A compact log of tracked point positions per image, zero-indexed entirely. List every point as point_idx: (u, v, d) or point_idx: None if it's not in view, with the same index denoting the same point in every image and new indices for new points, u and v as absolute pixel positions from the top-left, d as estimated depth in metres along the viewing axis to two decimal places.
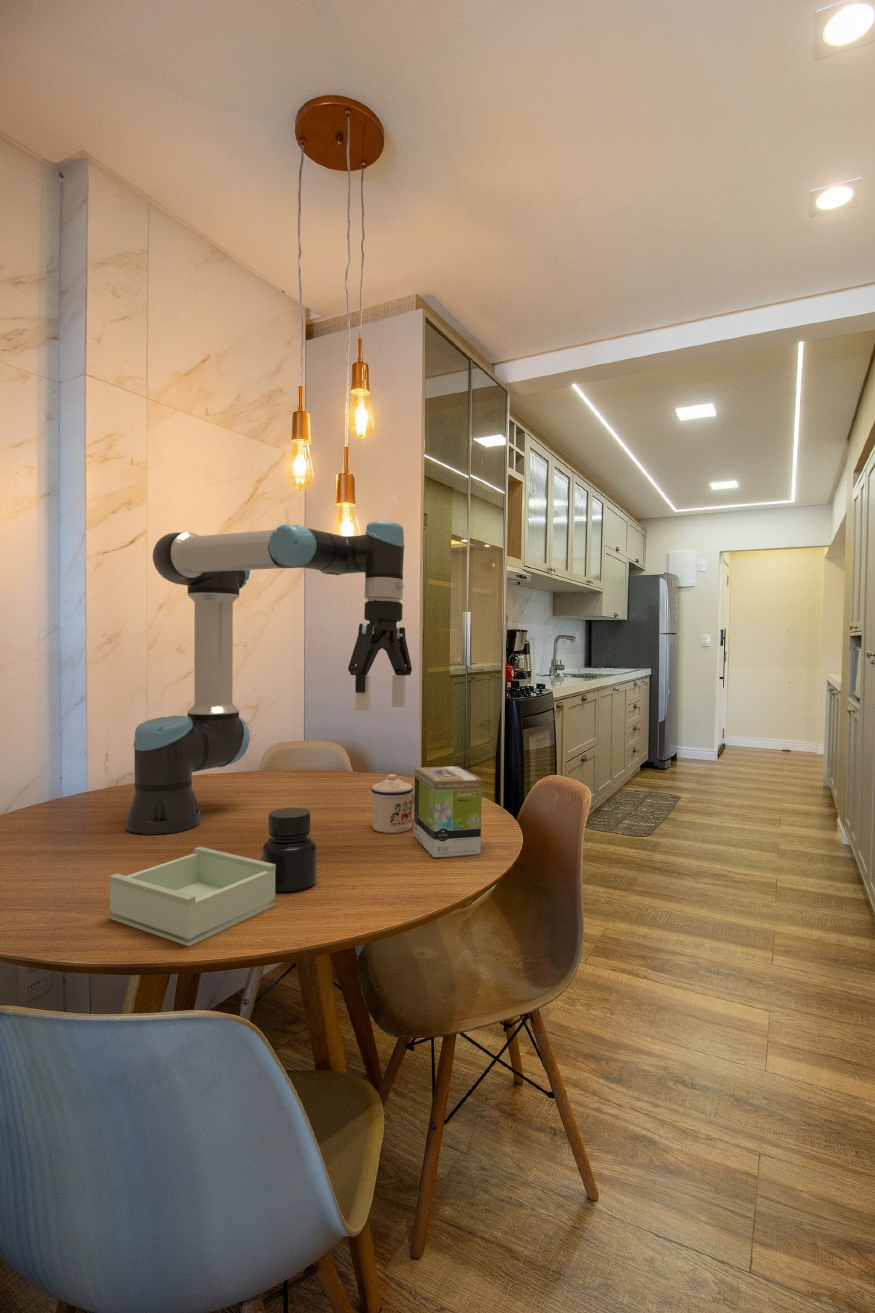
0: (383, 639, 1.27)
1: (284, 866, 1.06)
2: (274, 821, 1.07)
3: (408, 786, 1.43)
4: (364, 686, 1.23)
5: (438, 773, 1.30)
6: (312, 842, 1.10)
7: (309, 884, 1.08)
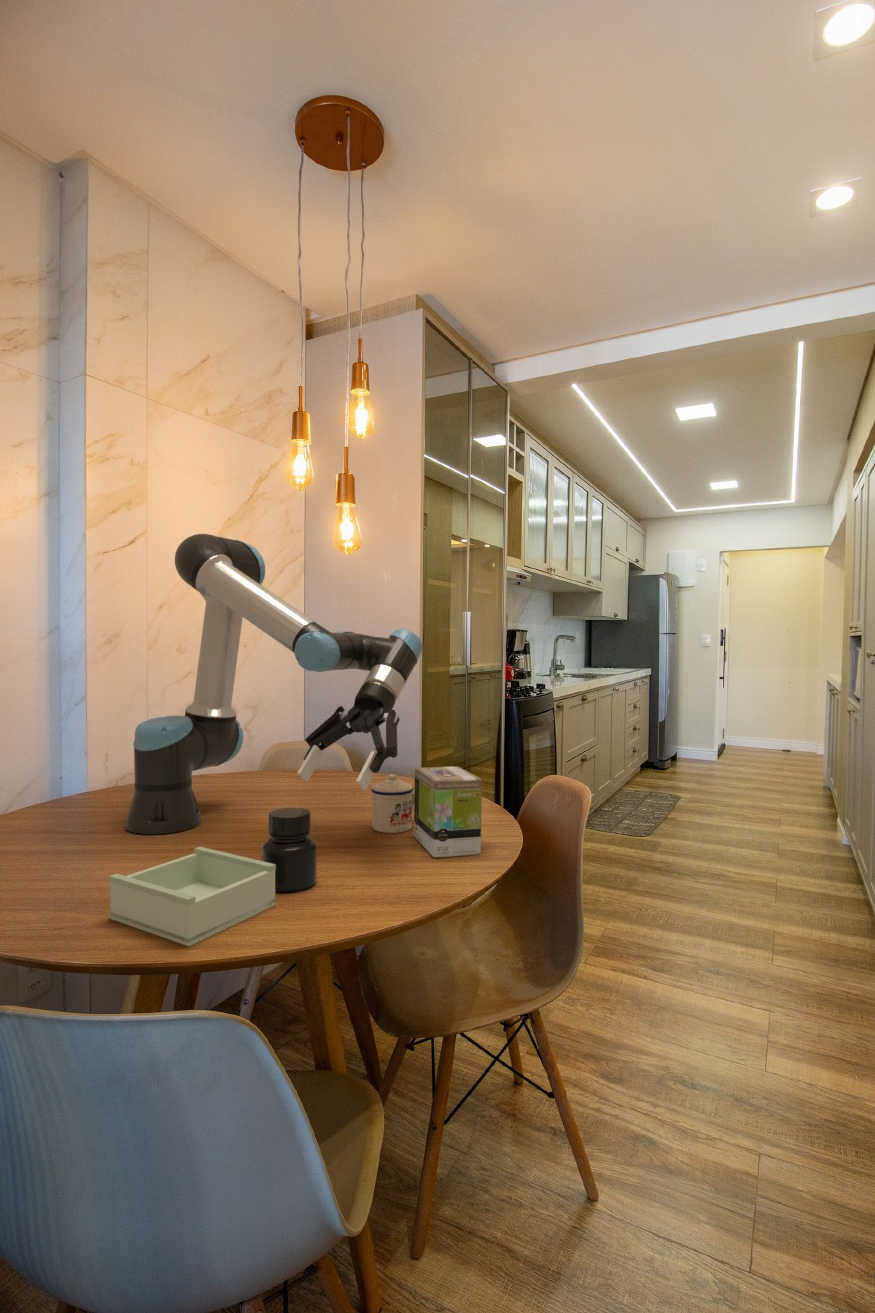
0: None
1: (284, 866, 1.06)
2: (274, 821, 1.07)
3: (408, 786, 1.43)
4: None
5: (438, 773, 1.30)
6: (312, 842, 1.10)
7: (309, 884, 1.08)
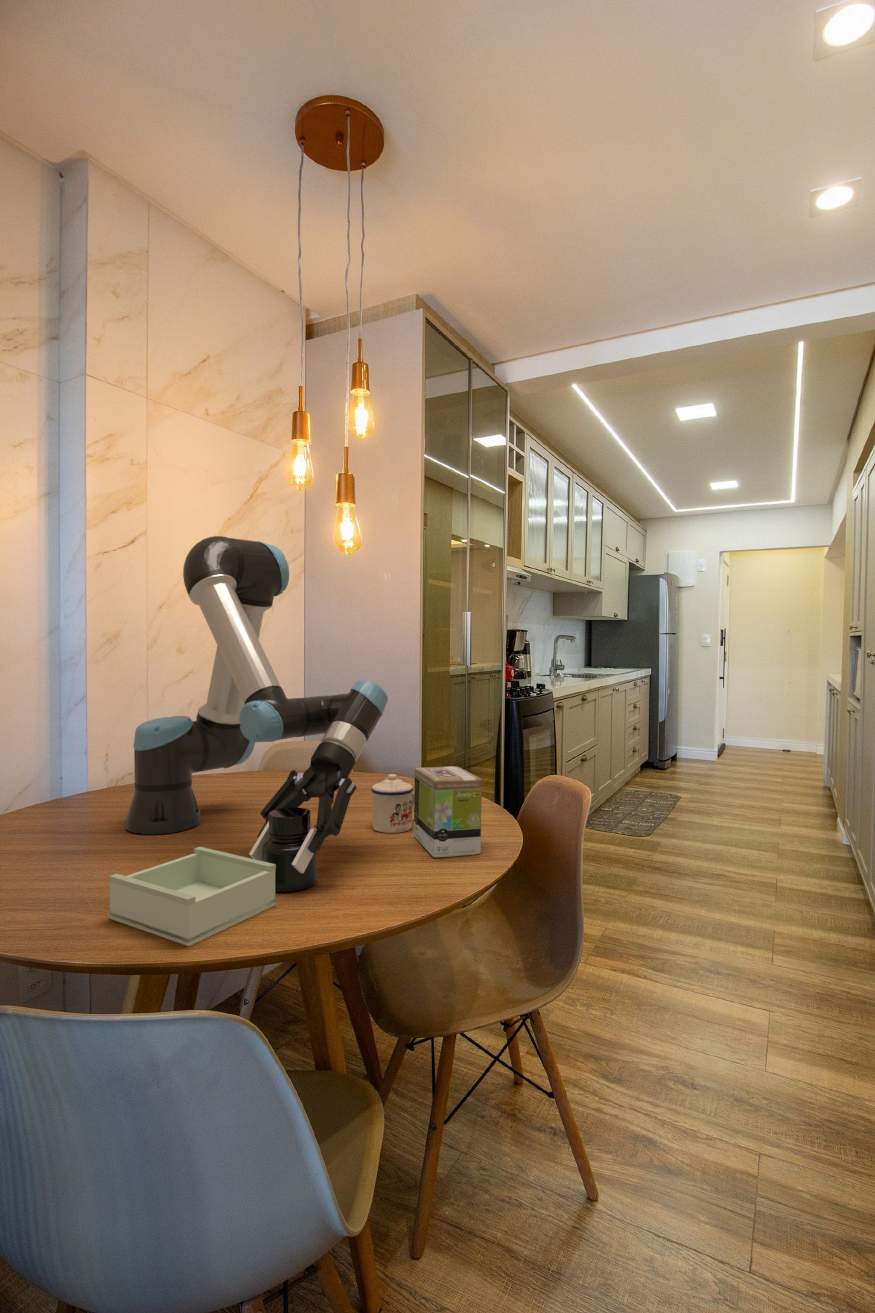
0: None
1: (284, 866, 1.06)
2: (274, 821, 1.07)
3: (408, 786, 1.43)
4: None
5: (438, 773, 1.30)
6: None
7: (309, 884, 1.08)
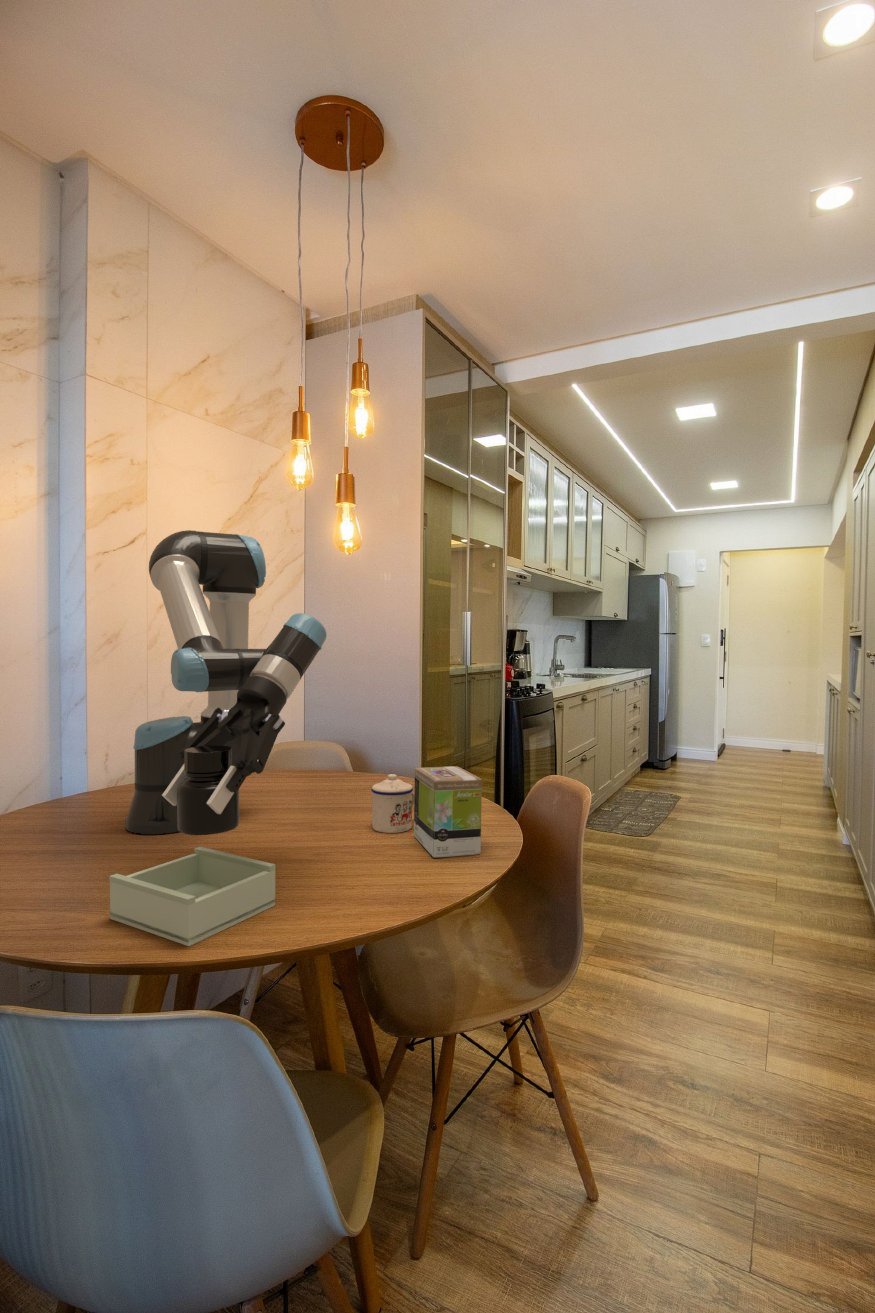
0: None
1: (199, 806, 0.95)
2: (189, 757, 0.96)
3: (408, 786, 1.43)
4: None
5: (438, 773, 1.30)
6: None
7: (229, 827, 0.97)
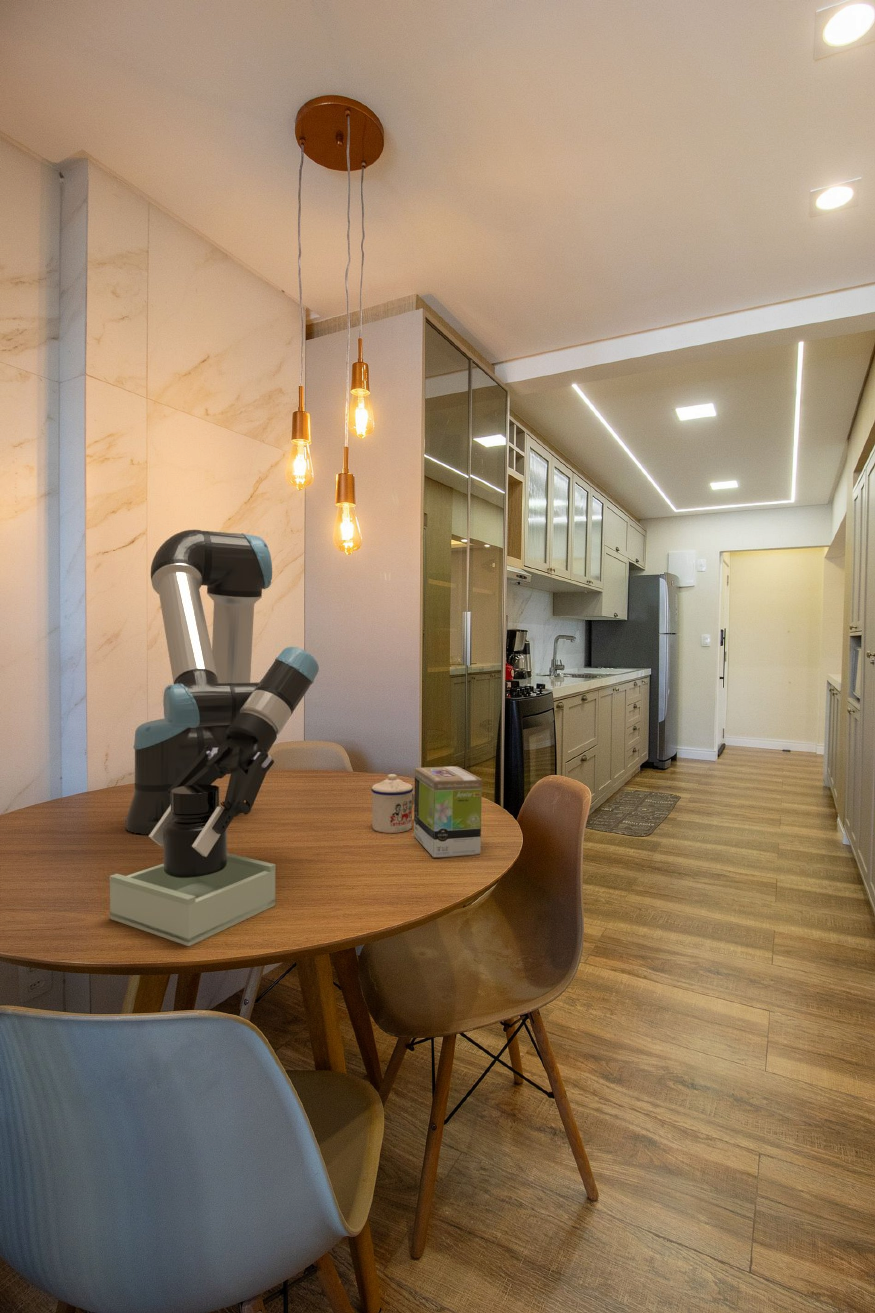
0: None
1: (185, 849, 0.94)
2: (175, 798, 0.95)
3: (408, 786, 1.43)
4: None
5: (438, 773, 1.30)
6: None
7: (216, 869, 0.96)
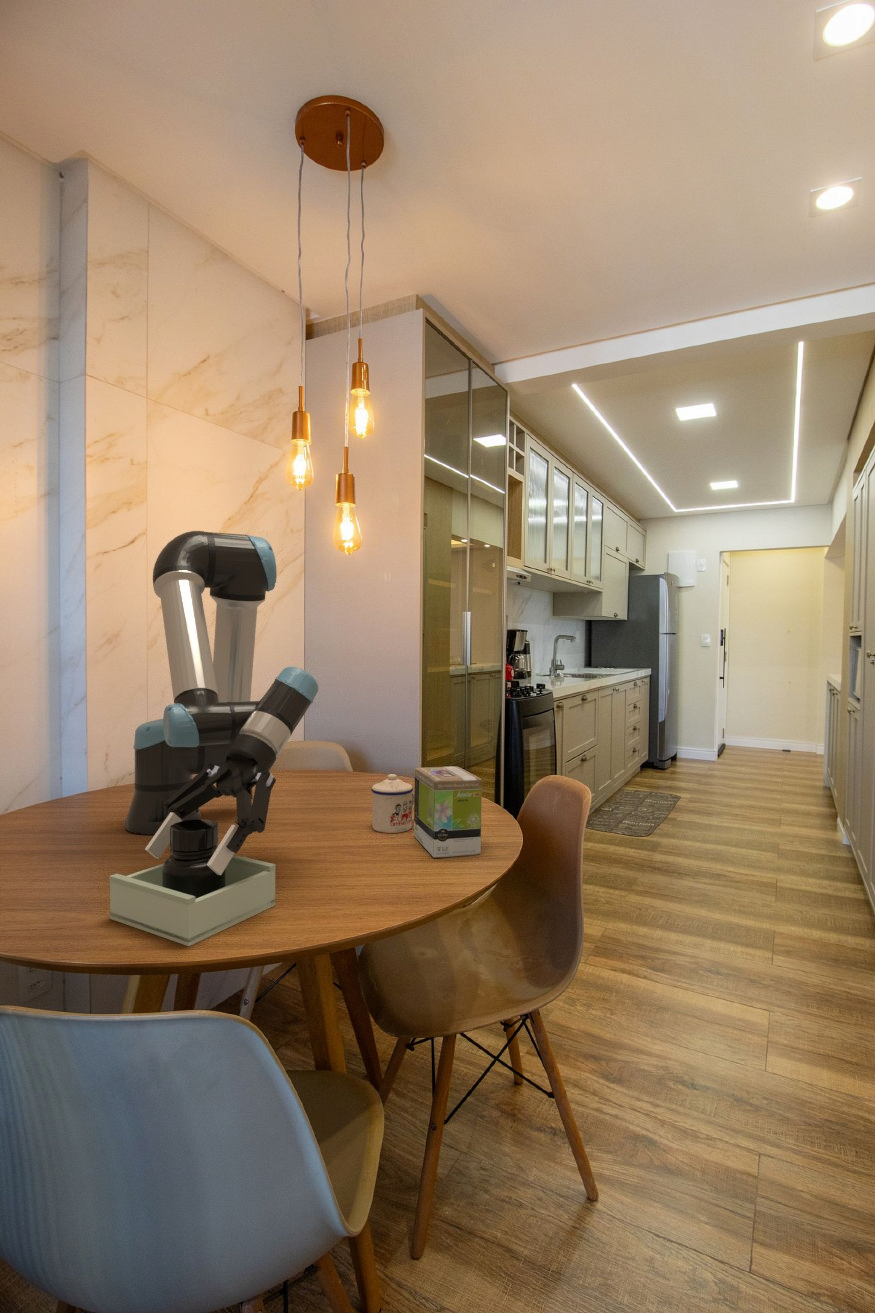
0: None
1: (184, 886, 0.94)
2: (174, 835, 0.96)
3: (408, 786, 1.43)
4: None
5: (438, 773, 1.30)
6: None
7: None
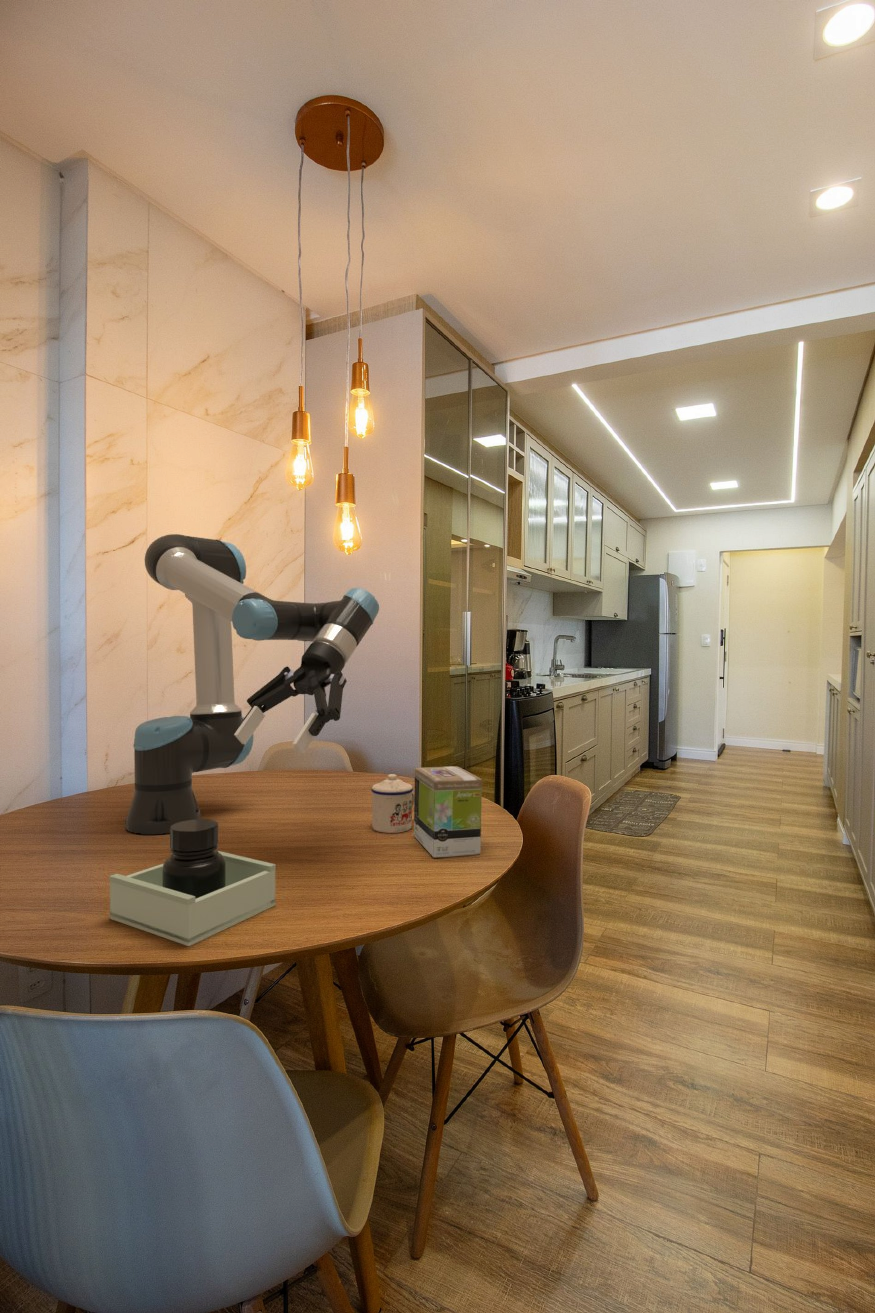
0: None
1: (184, 886, 0.94)
2: (174, 835, 0.96)
3: (408, 786, 1.43)
4: None
5: (438, 773, 1.30)
6: (220, 858, 0.99)
7: None
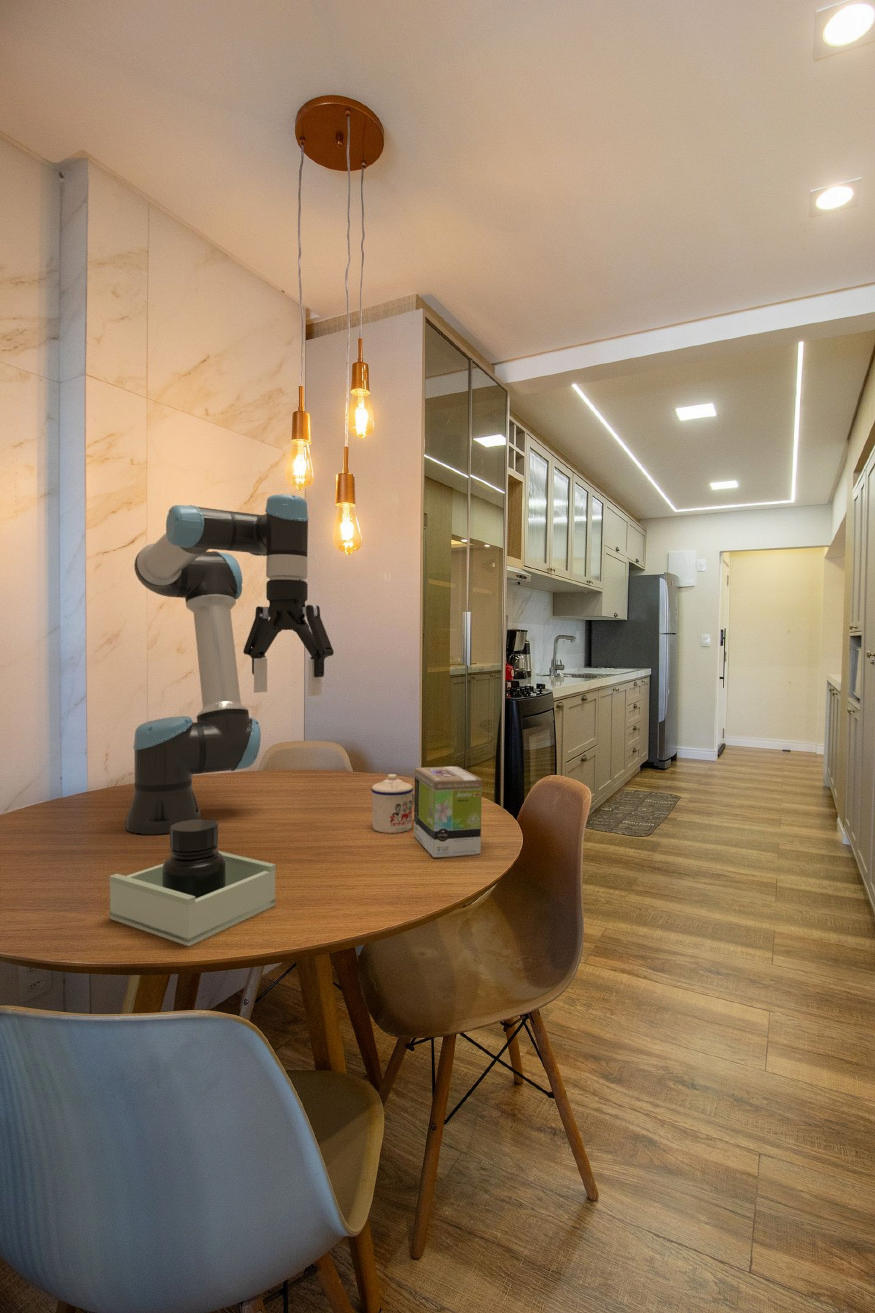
0: None
1: (184, 886, 0.94)
2: (174, 835, 0.96)
3: (408, 786, 1.43)
4: None
5: (438, 773, 1.30)
6: (220, 858, 0.99)
7: None
